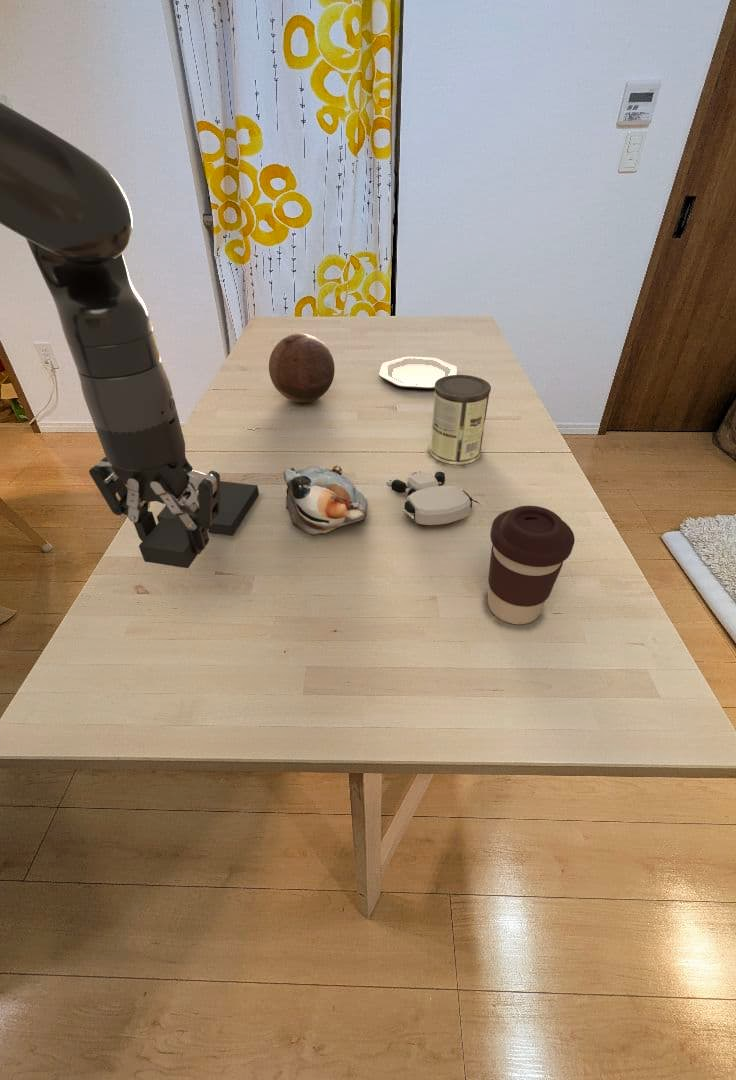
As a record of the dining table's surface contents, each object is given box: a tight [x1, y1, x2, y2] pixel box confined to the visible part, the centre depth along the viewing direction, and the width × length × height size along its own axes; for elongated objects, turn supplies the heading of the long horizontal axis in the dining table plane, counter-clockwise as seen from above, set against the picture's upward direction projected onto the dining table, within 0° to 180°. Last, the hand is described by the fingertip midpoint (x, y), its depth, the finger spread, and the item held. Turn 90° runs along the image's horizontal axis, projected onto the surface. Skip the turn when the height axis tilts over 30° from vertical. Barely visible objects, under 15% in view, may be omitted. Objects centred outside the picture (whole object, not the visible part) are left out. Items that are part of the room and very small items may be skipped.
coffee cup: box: [487, 505, 576, 625], centre depth 67 cm, size 10×10×15 cm
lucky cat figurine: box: [282, 465, 368, 536], centre depth 83 cm, size 15×12×14 cm
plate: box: [378, 356, 458, 390], centre depth 134 cm, size 20×20×2 cm
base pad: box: [156, 480, 260, 536], centre depth 89 cm, size 13×12×2 cm
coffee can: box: [429, 374, 492, 466], centre depth 100 cm, size 10×10×14 cm
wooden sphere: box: [268, 333, 336, 403], centre depth 119 cm, size 15×15×15 cm
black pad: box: [138, 509, 209, 569], centre depth 61 cm, size 5×8×2 cm, turn 168°
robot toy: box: [385, 470, 483, 526], centre depth 89 cm, size 12×4×15 cm
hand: (176, 545), depth 60 cm, fingers closed on black pad, 5 cm apart
